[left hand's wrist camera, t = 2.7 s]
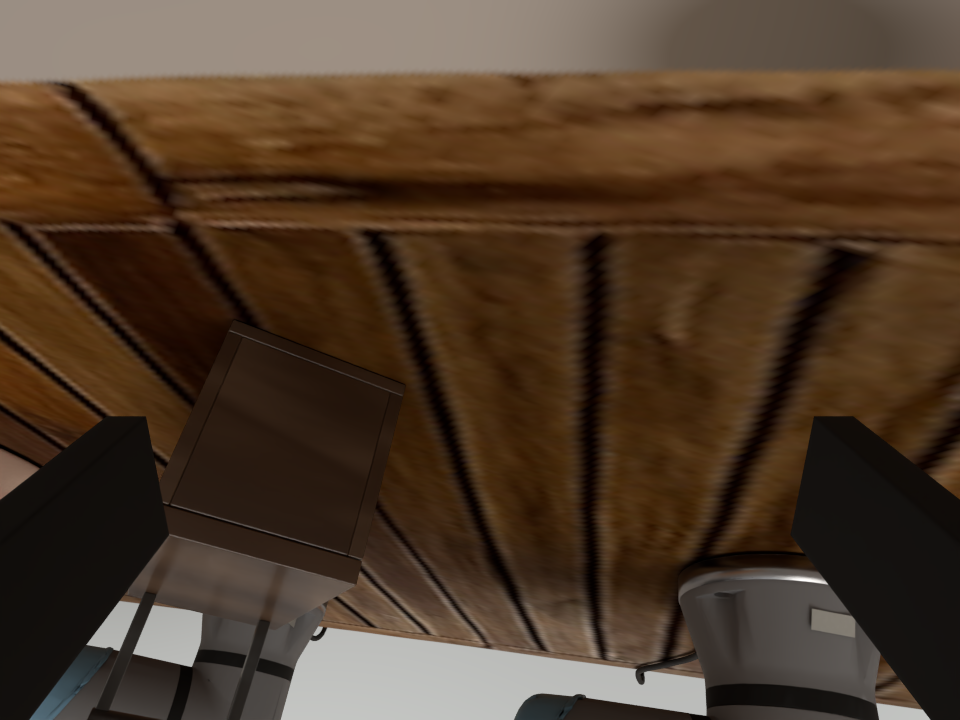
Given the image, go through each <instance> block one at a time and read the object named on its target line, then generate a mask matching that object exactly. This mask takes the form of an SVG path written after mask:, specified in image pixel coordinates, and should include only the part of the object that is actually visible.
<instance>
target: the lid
mask: <svg viewBox="0 0 960 720" xmlns="http://www.w3.org/2000/svg"><path fill="white" fill-rule="evenodd" d="M164 510H165V515H166V520H167V525H168V530H169V536H168V537H167V539H166V540H165V541H164V543H163V544H162V545H161V547H160V548H159V549H158V551H157V552H156V553H155V555H154V556H153V557H152V559H151V560H150V561H149V563H148V564H147V565H146V566H145V568H144V569H143V570H142V572H141V573H140V574H139V576H138V577H137V578H136V580H135V581H134V582H133V584H132V585H131V586H130V588H129V590H128V595H129V596H133V597H137V598H141V599H142V600H141V602H140V604H139V607H138V609H137V611H136V614H135V616H134V619H133V621H132V623H131V625H130V628H129V630H128V633H127V635H126V637H125V640H124V642H123V644H122V647H121V649H120V651H119V654H118V656H117V658H116V661H115V663H114V665H113V668H112V670H111V672H110V675H109V677H108V680H107V682H106V684H105V687H104V689H103V691H102V694H101V696H100V698H99V701H98V703H97V705H96V707H93V708H92V709H91V712H90V714H89V716H88V718H87V720H162V719H156V718H151V717H145V716H140V715H134V714H129V713H124V712H118V711H113V710H110V707H111V705H112V702H113V700H114V698H115V695H116V693H117V690H118V688H119V686H120V683H121V681H122V678H123V676H124V673H125V671H126V669H127V666H128V664H129V661H130V659H131V657H132V654H133V652H134V649H135V647H136V644H137V642H138V640H139V637H140V635H141V632H142V630H143V628H144V625H145V623H146V620H147V618H148V615H149V613H150V611H151V608H152V606H153V603H154V602H158V603H162V604H166V605H171V606H175V607H179V608H183V609H187V610H192V611H196V612H200V613H204V614H208V615H213V616H217V617H221V618H225V619H229V620H234V621H238V622H242V623H246V624H251V625H255V626H256V629H255V632H254V635H253V638H252V641H251V644H250V647H249V650H248V654H247V657H246V660H245V663H244V666H243V669H242V672H241V675H240V678H239V682H238V685H237V688H236V691H235V694H234V697H233V700H232V703H231V706H230V709H229V713H228V716H227V719H226V720H240V719H241V716H242V713H243V709H244V706H245V703H246V700H247V697H248V693H249V690H250V687H251V684H252V680H253V677H254V674H255V671H256V668H257V664H258V661H259V658H260V655H261V652H262V648H263V645H264V642H265V639H266V635H267V632H268V629H272V630H277V629H278V628H280V627H282V626H284V625H286V624H287V623H289V622H291V621H293V620H295V619H296V618H298V617H300V616H302V615H303V614H305V613H307V612H309V611H311V610H312V609H314V608H316V607H318V606H320V605H321V604H323V603H325V602H327V601H329V600H330V599H332V598H334V597H336V596H338V595H339V594H341V593H343V592H345V591H347V590H348V589H350V588H352V587H354V586H355V585H356V584H357V579H358V575H359V571H360V567H361V563H362V561H360V560H356V559H353V558H349V557H346V556H342V555H339V554H335V553H332V552H328V551H325V550H321V549H318V548H314V547H311V546H307V545H304V544H300V543H297V542H293V541H289V540H286V539H282V538H279V537H275V536H272V535H268V534H265V533H261V532H258V531H254V530H251V529H247V528H244V527H240V526H237V525H233V524H230V523H226V522H223V521H219V520H215V519H212V518H208V517H205V516H201V515H198V514H194V513H191V512H187V511H184V510H180V509H177V508H173V507H170V506H166V505H164Z"/></svg>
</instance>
